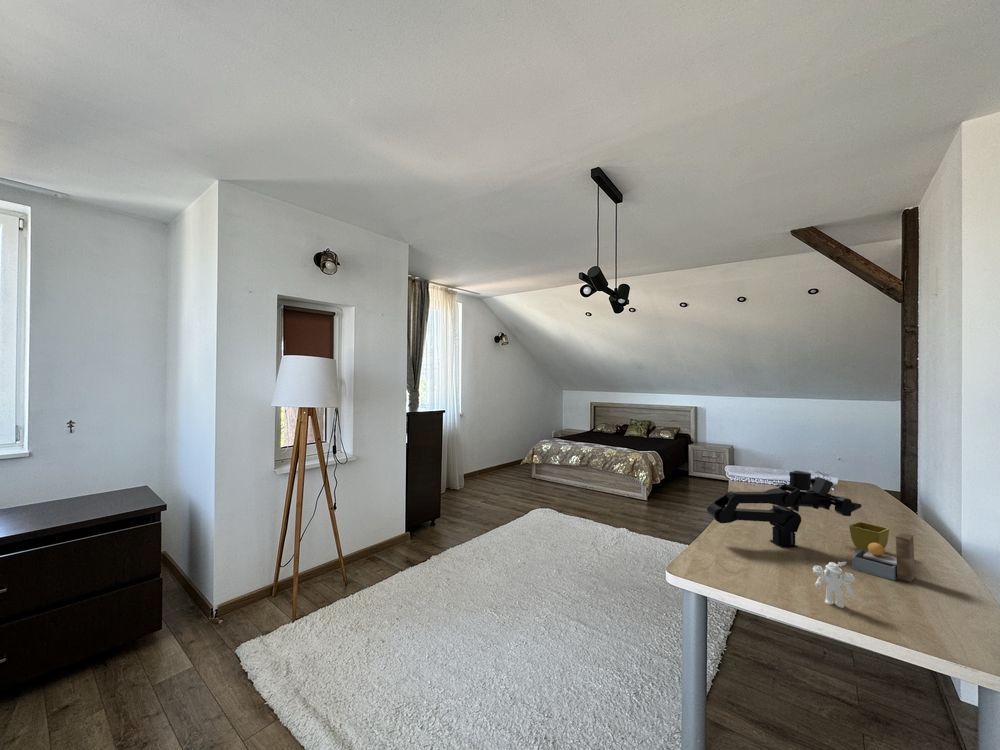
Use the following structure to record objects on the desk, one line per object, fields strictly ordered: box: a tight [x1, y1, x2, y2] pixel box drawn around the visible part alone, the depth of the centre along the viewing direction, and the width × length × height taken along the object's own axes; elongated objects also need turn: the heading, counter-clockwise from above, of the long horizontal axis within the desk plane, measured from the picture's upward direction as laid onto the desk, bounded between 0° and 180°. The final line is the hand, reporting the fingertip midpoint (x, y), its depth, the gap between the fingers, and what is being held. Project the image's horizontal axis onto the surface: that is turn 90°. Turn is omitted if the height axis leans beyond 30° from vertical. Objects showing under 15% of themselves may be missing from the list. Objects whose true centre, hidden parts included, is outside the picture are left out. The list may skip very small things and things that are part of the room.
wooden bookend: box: [863, 532, 916, 583], centre depth 127 cm, size 11×6×13 cm, turn 36°
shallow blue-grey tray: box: [851, 549, 898, 581], centre depth 130 cm, size 10×10×4 cm
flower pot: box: [848, 521, 890, 551], centre depth 145 cm, size 9×9×9 cm
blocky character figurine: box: [812, 561, 856, 609], centre depth 110 cm, size 9×4×12 cm, turn 48°
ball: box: [868, 543, 886, 556], centre depth 130 cm, size 4×4×4 cm
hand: (850, 502), depth 150 cm, fingers open, 9 cm apart
